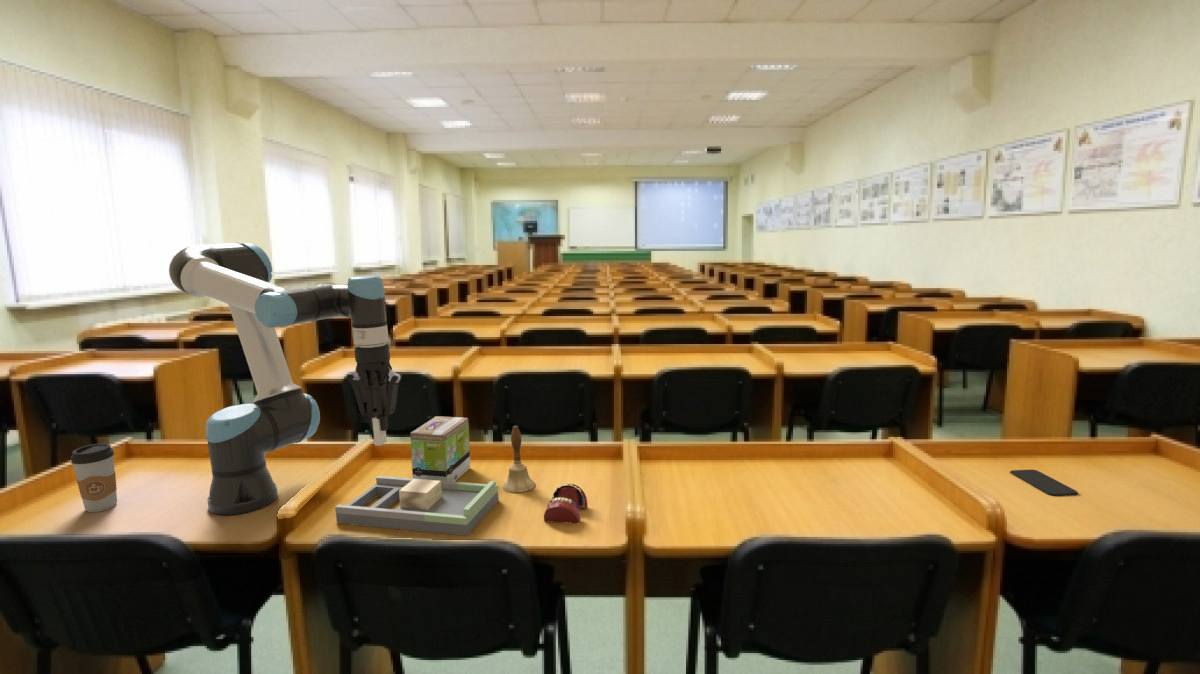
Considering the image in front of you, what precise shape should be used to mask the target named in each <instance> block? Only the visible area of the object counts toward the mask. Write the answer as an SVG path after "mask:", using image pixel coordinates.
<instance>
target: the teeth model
mask: <svg viewBox="0 0 1200 674" xmlns="http://www.w3.org/2000/svg"><path fill="white" fill-rule="evenodd" d="M581 509H583V510H584V509H586V510H587V509H588V498H587V496H586V493H585V492H584V489H582V488H581V487H580V486H579V485H577V484H575V483H566V484H563V485H560V486H559V487H556V490H555V491H554V493H553V494H552V497H551V499H550V500H549V502H548V503H547V507H546V509H545V511H544V515H543V521H544V522H549V521H550V523H563V522H568V523H567V524H577V523H579V524H580V522H581V516H580V510H581ZM551 521H553V522H551ZM569 522H571V523H569Z"/></svg>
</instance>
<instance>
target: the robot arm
mask: <svg viewBox="0 0 1200 674" xmlns="http://www.w3.org/2000/svg"><path fill="white" fill-rule="evenodd" d="M168 266H169V267H168V274H169V278H170V280H171V282H172V284H173V285H174V286H175V287H176V288H178V289H179V290H180V291H181V292H183V293H185V294H188V295H190V296H193V297H199V298H201V297H202V298H204V297H209V298H211V299H213V300H216V301H220V302H222V303H224V304H226V305H227V306H228V308H229V311H230V314H231V317H232V320H233V323H234V326H235V329H236V331H237V335H238V338H239V340H240V345H241V346H242V351H243V354H244V356H245V359H246V362H247V365H248V368H249V371H250V374H251V378H252V381H253V383H254V386H255V390H256V392H257V393H256V394H257V395H256V396H255V398H254V400H253V403H241V404H237V405H231V406H227V407H225V408H222V409H219V410H217V411H216V412H214V413H212V414H211V415H210V416H209V418H208V419H207V420H206V424H205V431H206V432H205V433H206V434H205V438H206V441H207V447H208V453H209V454H208V455H209V461H210V462H209V463H210V466H211V467H210V468H211V476H212V480H211V484H210V487H209V495H208V496H207V507H208V511H209V512H210V513H211V514H215V515H221V516H222V515H223V516H229V515H239V514H240V515H241V514H246V513H248V512H249V513H250V512H253V511H256V510H259V509H262V508H264V507H266V506H269V505H270V504H271V503H273V502H274V501H276V499H277V498H278V496H279V493H278V486H277V484H276V483H275V482H274V481H273V477H272V475H271V473H270V471H269V469H268V467H267V461H266V454H267V453H270V452H273V451H276V450H280V449H282V448H285V447H287V446H290V445H293V444H297V443H300V442H303V441H304V440H306V439H309V438H311V437H313V435H314V434H315V433H316V432H317V430H318V428H319V424H320V421H321V416H320V415H321V414H320V409H319V406H318V403H317V401H316V399H314V397H313V396H312V395H310V394H307V393H304V392H303V389H302V386H299V385H297V384H295V383H294V382H293V381H294V380H293V379H292V376H291V372H290V369H289V367H288V364H287V360H286V357H285V355H284V352H283V349H282V346H281V342H280V339H279V336H278V333H277V330H276V328H286V327H289V326H292V325H293V326H294V325H298V324H299V325H300V324H304V323H309V322H314V321H320V320H321V321H322V320H327V319H332V318H351V327H352V328H351V329H352V339H353V344H354V345H355V346H354V349H353V351H354V361H355V363H356V366H355V370H354V371H353V372H352V373H349V374H347V375H346V379H347V380H348V381H349V383H350V384H351V387H352V390H353V394H354V396H355V399H356V403H357V406H358V409H359V412H360V414H361V415H363V416H367V417H368V418H369V419H368V420H369V428H370V431H373V432H372V433H373V441H374V446H378V447H379V446H383V445H384V444H385V443H387V440H388V439H387V430H389V419H388V416H391V415H392V414H394V413H395V411H396V407H397V406H396V405H397V400H398V399H397V398H398V391H399V385H400V384H399V383H400V382H401V380H402V378H403V374H402V373H396V372H395V371H394V370H393V366H391V363H390V360H391V353H390V345H389V343H388V342H389V332H388V331H389V330H388V321H387V310H386V309H387V308H386V292H385V288H384V281H383V279H382V277H380V276H378V275H358V276H357V275H356V276H355V275H354V276H351V277H349V278H348V279H347V284H340V283H334V282H333V283H332V282H329V283H320V284H318V285H316V286H311V287H301V288H294V289H290V288H286V287H282V286H279V285H277V284H274V283H271V281H272V279H273V274H272V273H273V266H272V262H271V260H270V258H269V256H268V254H267V253H266V252H265V251H264V250H263V248H261V247H260V246H258V245H256V244H255V243H250V242H231V243H215V244H214V243H213V244H194V245H191V246H187V247H185V248H183V249H181V250H180V251H178V252H177V253H176V254H175V255H173V257H172V259H171V261H170V263H169V265H168ZM387 380H388V381H387ZM387 382H388V384H387Z"/></svg>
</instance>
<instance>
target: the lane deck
mask: <svg viewBox="0 0 1200 674" xmlns="http://www.w3.org/2000/svg"><path fill="white" fill-rule="evenodd" d="M375 480H376V483H375V484H374V485H372V486H371V487H369V488H368V489H366V491H364V492H362V493H361V494H360V495H358V496H357V497H355V498H354V499H353V500H351V501H350V502H349V503H348V504H337V505H335V506H334V507H335V508H334V510H335V517H336V518H335V519H336V523H337V522H338V523H337V524H339V523H345V524H344V525H350V524H354V525H353V526H360V525H363V526H364V527H372V528H373V527H374V528H381V529H392V530H393V529H394V530H403V531H404V530H405V531H414V532H424V533H435V534H436V533H437V534H445V535H454V536H466V537H468V536H469V535H470V534H471V533H472V532H473V530H474V529H475V528H476V527H477V526H478V525H479V524H480V522H481V521H482V520H483V519H484V518H485V516H486V515H487V514H489V512H490V511H491V510H492V509H493V508H494V506H496V504H497V503H498V502H499V486H498V484H497V483H496V482H497V481H496V480H490V481H489V482H488V483H486V484H485V483H474V482H465V481H464V482H462V481H461V482H460V481H455V482H452V481H441V489H442V497H441V498H440V499H439V500H438V501H437V502H436V503H435V504H433V505H432V506H431V507H430V508H429V509H417V508H406V507H400V505H399V506H397V507H396V508H395V509H394V508H390V507H392V506H393V505H394V504H395V503H397V502H398V501H400V498H399V490H400V489H402V488H403V487H404V486H405V485H407V484H408V483H409V482H411V481H412V480H413V477H411V478H410V477H409V478H408V477H397V476H384V475H378V476H376V477H375ZM424 480H425V479H424ZM437 481H438V480H437ZM376 497H381V498H379V499H378V500H377V501H376V502H374V503H373V504H372V505H371V506H366V505H367V504H369V503H370V502H372V501H373V499H375V498H376Z"/></svg>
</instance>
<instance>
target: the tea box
mask: <svg viewBox="0 0 1200 674" xmlns="http://www.w3.org/2000/svg"><path fill="white" fill-rule="evenodd" d="M469 426H470V425H469V418H468V417H460V416H459V417H457V416H442V415H441V416H438V415H436V416H434V417H433V418H431V419H430V420H428V421H427V422H425V423H423V424H422V425H420V426H418V427H417V428H416V429H414V430H412V431H411V432H410V452H411V454H410V455H411V469H412V474H411V475H412V479H425V480H438V481H452V482H457V480H459V478H460V477H462V476H463V475H465V473H466V472H467V471H469V469H471V453H470V452H471V451H470V449H471V448H470V427H469Z"/></svg>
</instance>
